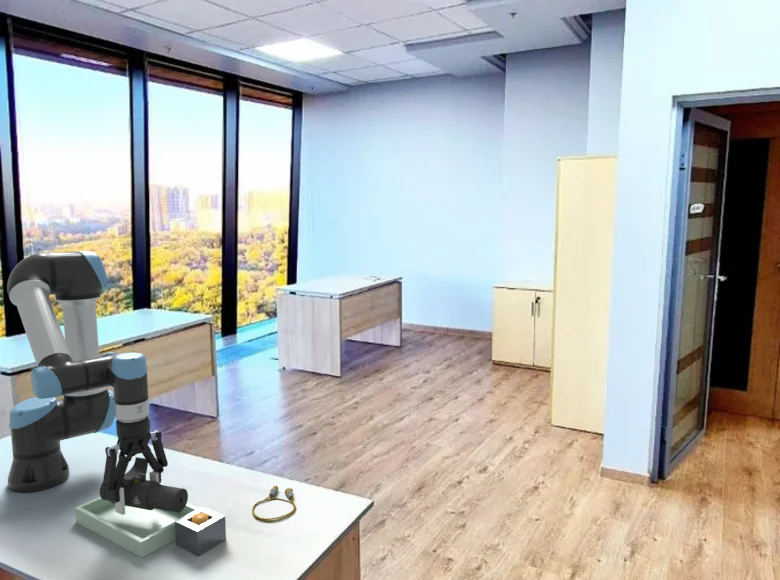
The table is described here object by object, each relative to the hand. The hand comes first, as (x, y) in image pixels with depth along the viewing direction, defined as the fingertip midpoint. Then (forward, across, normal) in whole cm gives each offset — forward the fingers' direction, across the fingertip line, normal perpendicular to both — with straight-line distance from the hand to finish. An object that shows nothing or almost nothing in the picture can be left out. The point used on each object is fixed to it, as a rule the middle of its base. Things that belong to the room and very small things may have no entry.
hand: (138, 504), depth 147 cm
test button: (+4, +3, -19) cm, 20 cm away
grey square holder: (+5, +3, -19) cm, 20 cm away
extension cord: (+6, +25, -22) cm, 34 cm away
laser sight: (+1, +1, -1) cm, 1 cm away
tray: (+5, 0, 0) cm, 5 cm away
